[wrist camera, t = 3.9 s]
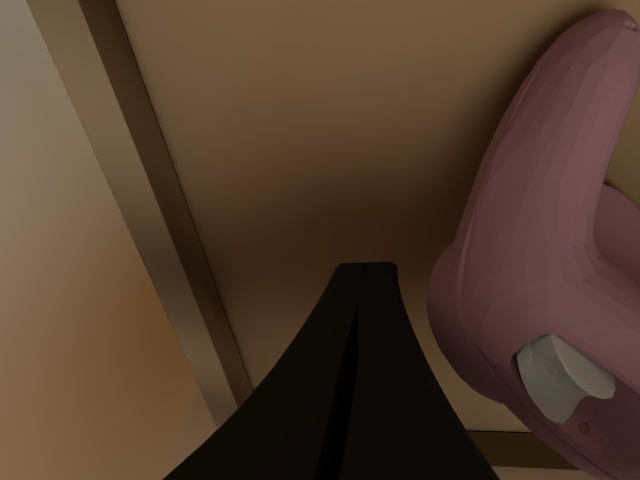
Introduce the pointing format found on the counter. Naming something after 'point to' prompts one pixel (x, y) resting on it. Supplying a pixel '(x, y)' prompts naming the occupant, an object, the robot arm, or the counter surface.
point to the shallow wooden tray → (189, 218)
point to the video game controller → (554, 257)
